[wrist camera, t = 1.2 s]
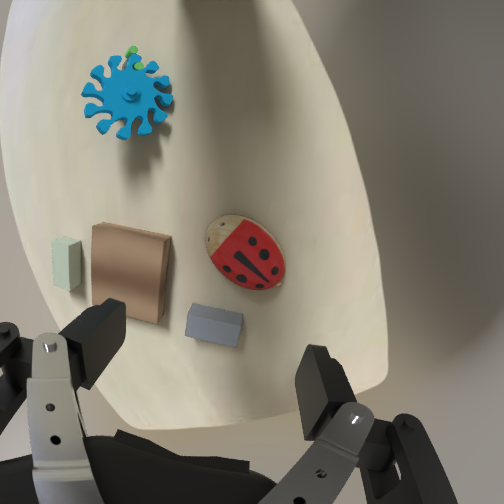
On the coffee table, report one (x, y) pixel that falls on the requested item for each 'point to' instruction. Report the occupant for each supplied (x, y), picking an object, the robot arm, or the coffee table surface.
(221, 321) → the slate brick
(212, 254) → the ladybug figurine
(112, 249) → the walnut block
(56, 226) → the coffee table surface
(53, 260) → the sage brick
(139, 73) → the gear
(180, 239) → the coffee table surface
